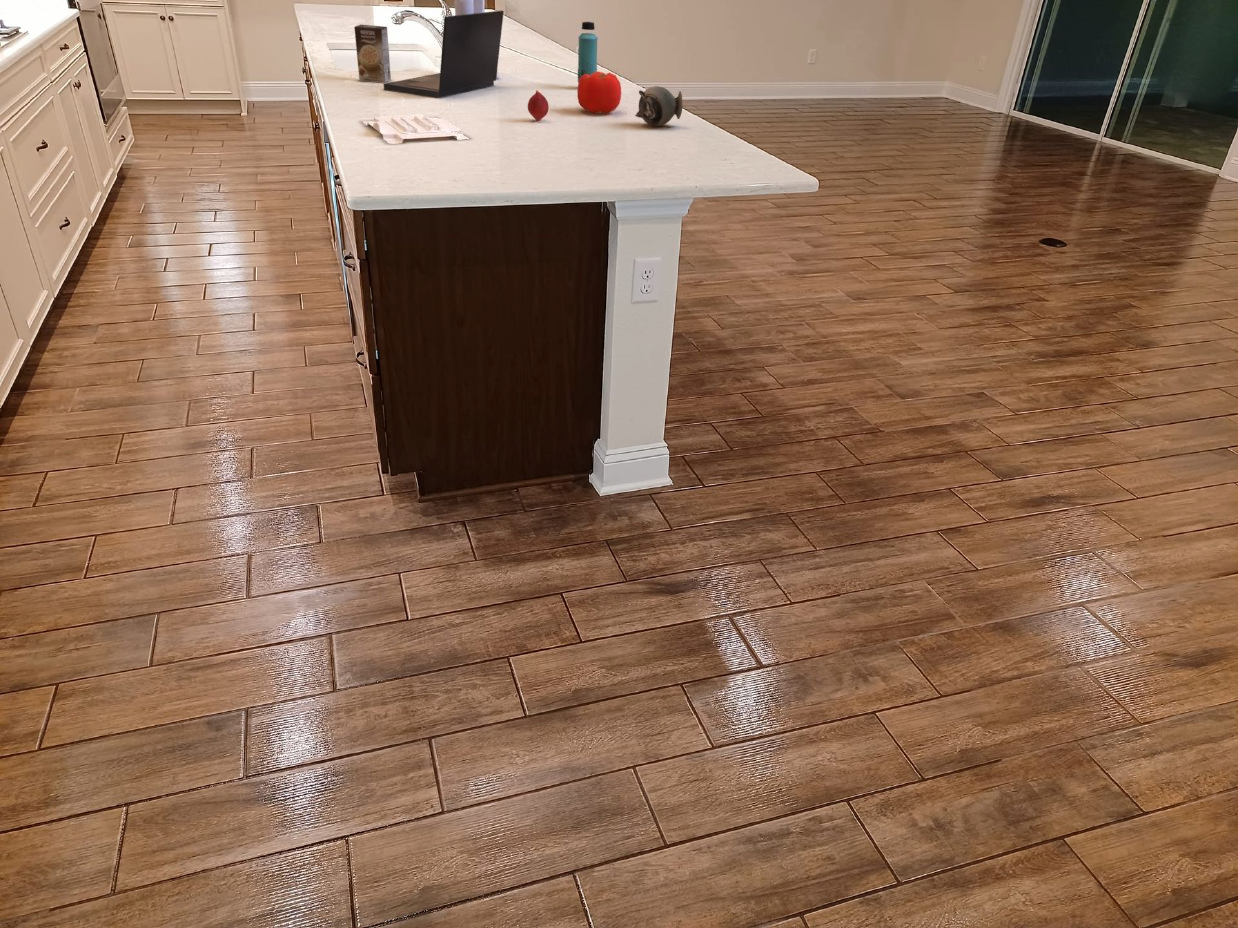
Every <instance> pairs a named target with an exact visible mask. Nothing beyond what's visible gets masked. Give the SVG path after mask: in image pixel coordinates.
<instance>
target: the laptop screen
mask: <svg viewBox="0 0 1238 928" xmlns="http://www.w3.org/2000/svg"><path fill="white" fill-rule="evenodd" d="M504 12H505V10H493V11H492V10H491V11H484V12H482V13H473V14H464V15H455V14H454V15H446V16H444V17H443V20H444V21H443V31H442V42H441V43H442V44H441V55H440V56H441V59H440V72H439V73H440V83H439V92H446V91H450V90H455V89H459V88H464V87H468V86H473V85H478V84H482V83H487V82H491V81H494V82H496V81H497V79H496V76H497V77H498V67H499V66H498V65H499V56H500V48H501V39H502V31H503V22H504Z"/></svg>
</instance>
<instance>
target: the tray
mask: <svg viewBox="0 0 1238 928" xmlns="http://www.w3.org/2000/svg"><path fill="white" fill-rule="evenodd" d="M361 122H362V123H363V124H364V125H366V126H369V127H370V126H371V127H373V129H375V130H376V131H377V132H378V133H380V134H381V135H382V139H383V140H384V141H385V142H386V143H388V144H389V145H394V144H395V145H396V144H398V145H399V144H403V143H404V140H409V139H427V138H443V137H444V138H445V137H453V138H455V139H456V140H457V141H461V140H469V139H470V138H469V137H467V136H466V135H465V134H463V132H462V129H461V128H460V127H458V126H456V125H454V124H453V123H452V122H450V121H448V120H447V119H445V118H443V117H439V118H438V117H435V116H434V117H428V116H427V115H426V114H422V113H421V114H402V115H401V114H400V115H381V116H373V120H363V121H361Z"/></svg>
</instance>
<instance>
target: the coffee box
mask: <svg viewBox="0 0 1238 928" xmlns="http://www.w3.org/2000/svg"><path fill="white" fill-rule="evenodd" d="M353 29H354V38H355V48H356V59H357V70H358V81H360V82H370V83H371V82H372V83H382V84H385V83H389V82H391V81H392V76H391V75H392V74H391V62H390V59H391V58H390V47H389V35H388V27H387V26H383V25H371V24H370V25H369V24H359V25H355V26H354V28H353Z"/></svg>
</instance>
